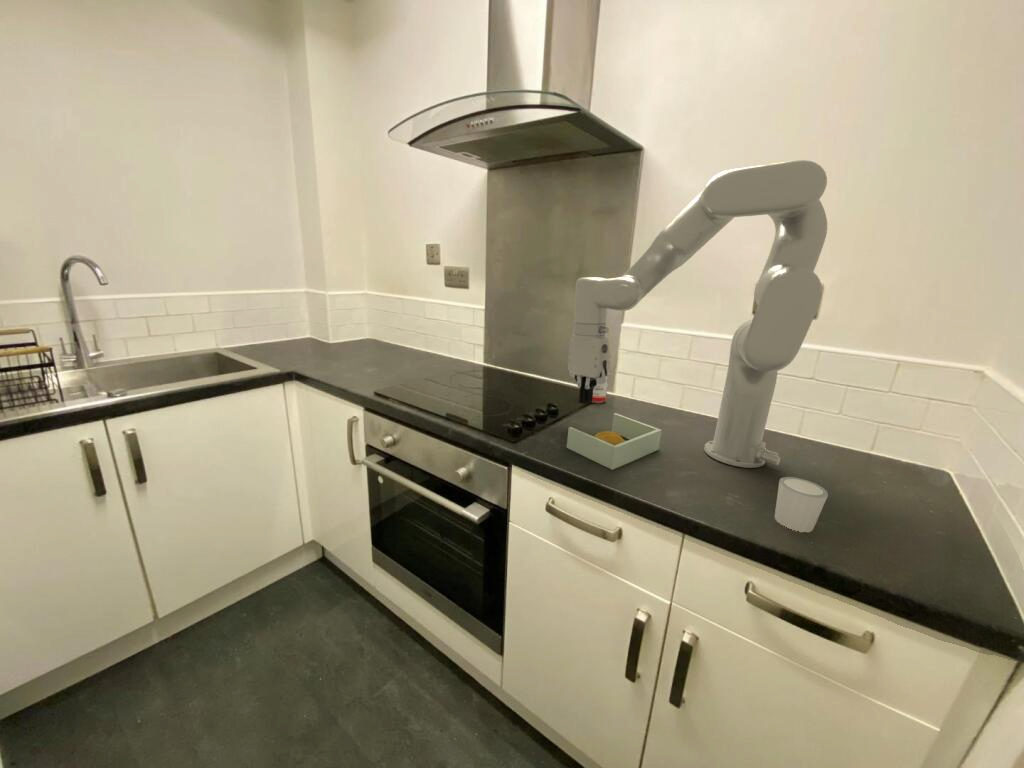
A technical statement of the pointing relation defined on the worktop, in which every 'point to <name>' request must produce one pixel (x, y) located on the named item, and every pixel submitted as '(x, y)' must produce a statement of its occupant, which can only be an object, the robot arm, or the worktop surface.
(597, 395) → the beer can
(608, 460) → the box
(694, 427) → the worktop surface
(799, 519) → the white cup
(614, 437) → the bread roll
